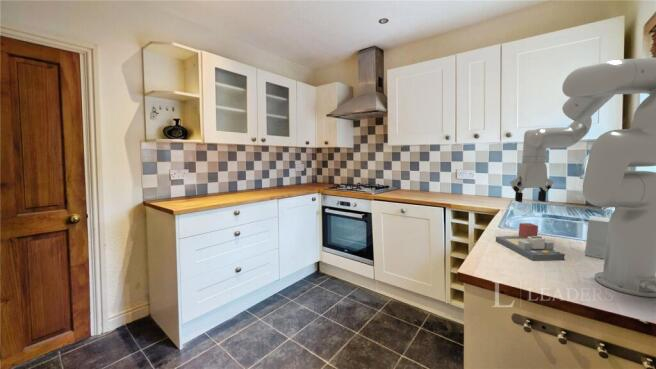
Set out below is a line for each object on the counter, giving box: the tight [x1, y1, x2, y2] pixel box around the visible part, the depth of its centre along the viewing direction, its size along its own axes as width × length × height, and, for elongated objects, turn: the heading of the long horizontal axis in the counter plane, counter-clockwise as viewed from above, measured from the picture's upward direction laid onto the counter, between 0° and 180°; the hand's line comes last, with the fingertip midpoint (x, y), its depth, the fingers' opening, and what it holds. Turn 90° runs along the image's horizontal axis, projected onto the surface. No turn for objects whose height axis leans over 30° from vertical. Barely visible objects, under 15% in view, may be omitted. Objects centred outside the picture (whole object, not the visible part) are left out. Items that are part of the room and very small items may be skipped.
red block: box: [518, 222, 539, 238], centre depth 116 cm, size 4×4×6 cm
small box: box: [584, 215, 610, 260], centre depth 97 cm, size 8×6×13 cm
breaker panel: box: [495, 235, 566, 262], centre depth 103 cm, size 20×11×4 cm, turn 1°
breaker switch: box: [527, 235, 546, 249], centre depth 98 cm, size 3×4×4 cm
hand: (530, 201), depth 114 cm, fingers open, 9 cm apart
